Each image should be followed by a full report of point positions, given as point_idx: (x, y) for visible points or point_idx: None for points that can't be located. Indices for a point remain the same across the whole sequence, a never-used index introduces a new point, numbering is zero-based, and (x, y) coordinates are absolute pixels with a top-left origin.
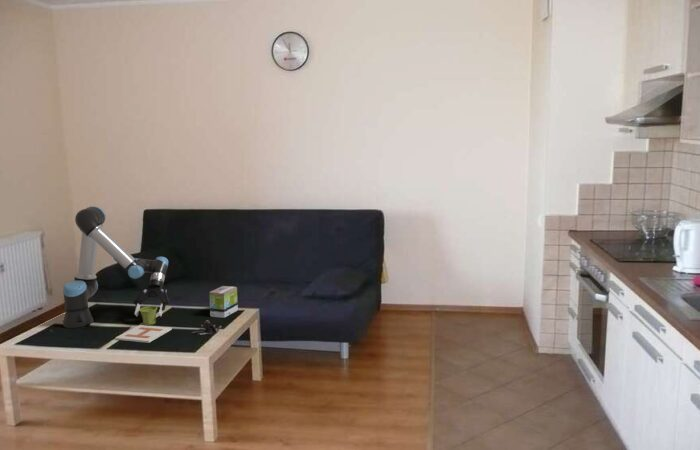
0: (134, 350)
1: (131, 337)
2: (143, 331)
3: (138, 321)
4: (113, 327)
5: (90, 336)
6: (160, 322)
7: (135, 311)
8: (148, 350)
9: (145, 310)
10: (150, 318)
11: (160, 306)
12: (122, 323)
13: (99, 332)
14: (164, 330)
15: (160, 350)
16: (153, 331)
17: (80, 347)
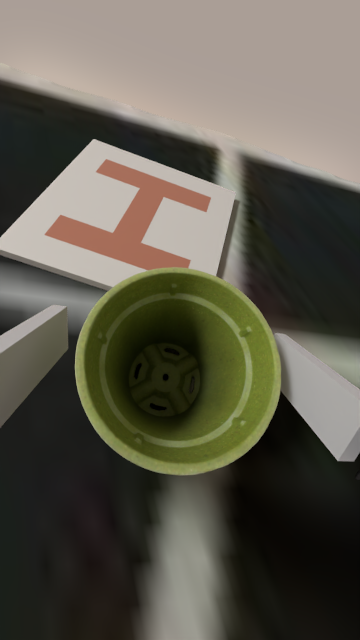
0: (128, 117)
1: (175, 180)
2: (147, 226)
3: None
4: (329, 330)
5: (339, 244)
6: None
7: (299, 345)
8: (82, 105)
9: (234, 413)
10: (147, 325)
11: (8, 346)
12: None
13: (340, 276)
14: (35, 217)
15: (39, 94)
16: (96, 217)
17: (298, 173)
